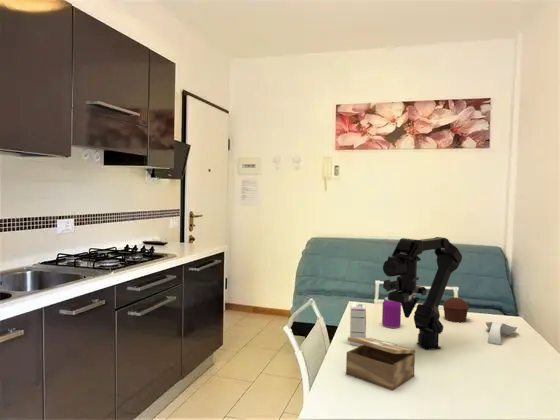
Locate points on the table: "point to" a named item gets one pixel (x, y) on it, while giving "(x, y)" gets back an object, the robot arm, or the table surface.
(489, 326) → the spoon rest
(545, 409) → the table surface
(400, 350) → the lid
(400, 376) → the brown wooden box base
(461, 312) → the muffin
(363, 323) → the syrup box
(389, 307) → the beverage can
